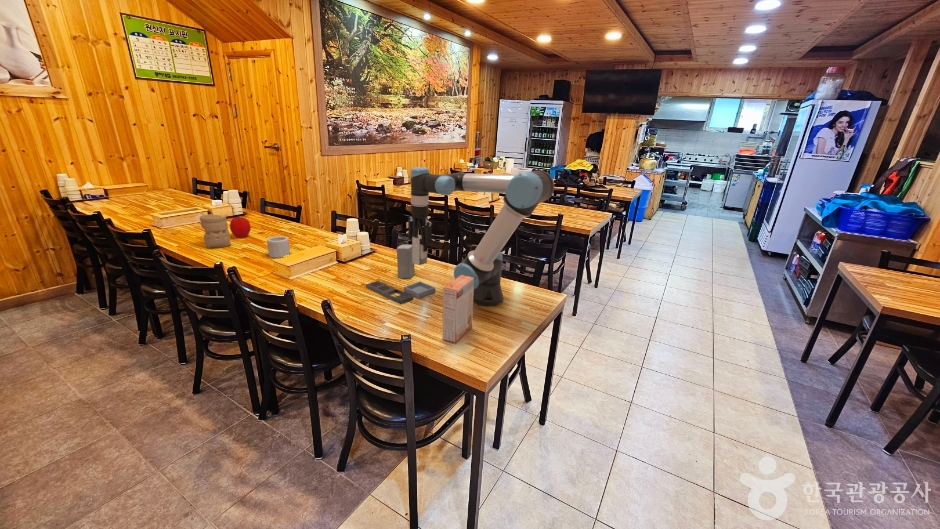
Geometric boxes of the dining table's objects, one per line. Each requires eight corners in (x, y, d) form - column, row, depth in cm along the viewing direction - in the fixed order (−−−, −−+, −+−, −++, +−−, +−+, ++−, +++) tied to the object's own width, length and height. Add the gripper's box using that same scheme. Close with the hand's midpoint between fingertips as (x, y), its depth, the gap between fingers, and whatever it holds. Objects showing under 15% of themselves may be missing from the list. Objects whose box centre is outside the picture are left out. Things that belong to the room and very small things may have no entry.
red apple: (226, 238, 233) (222, 217, 228) (240, 233, 244) (237, 213, 239) (243, 240, 231) (239, 219, 226) (256, 235, 242) (253, 215, 238)
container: (217, 242, 224) (211, 213, 218) (236, 244, 223) (231, 214, 217) (200, 248, 213) (193, 217, 207) (220, 250, 211) (214, 219, 205)
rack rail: (413, 299, 164) (413, 296, 163) (400, 304, 158) (400, 300, 158) (378, 283, 178) (378, 280, 178) (366, 287, 173) (365, 284, 173)
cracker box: (458, 323, 146) (461, 273, 139) (472, 327, 143) (475, 277, 136) (440, 339, 134) (442, 286, 127) (455, 344, 131) (458, 290, 124)
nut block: (426, 262, 167) (427, 237, 163) (419, 265, 163) (419, 239, 159) (419, 260, 169) (420, 235, 165) (412, 262, 166) (412, 236, 162)
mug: (294, 255, 210) (292, 238, 207) (276, 259, 202) (273, 242, 198) (280, 250, 217) (278, 233, 213) (262, 254, 208) (259, 237, 205)
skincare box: (409, 279, 185) (409, 249, 180) (396, 277, 187) (395, 247, 181) (415, 273, 193) (415, 244, 188) (402, 271, 194) (402, 243, 189)
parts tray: (435, 292, 172) (435, 287, 171) (418, 298, 165) (418, 293, 164) (420, 285, 178) (420, 281, 177) (403, 291, 171) (403, 286, 170)
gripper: (440, 207, 155) (439, 259, 163) (412, 200, 165) (412, 250, 173) (427, 209, 150) (427, 263, 157) (399, 202, 160) (400, 253, 168)
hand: (419, 256), depth 165 cm, fingers closed on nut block, 5 cm apart
